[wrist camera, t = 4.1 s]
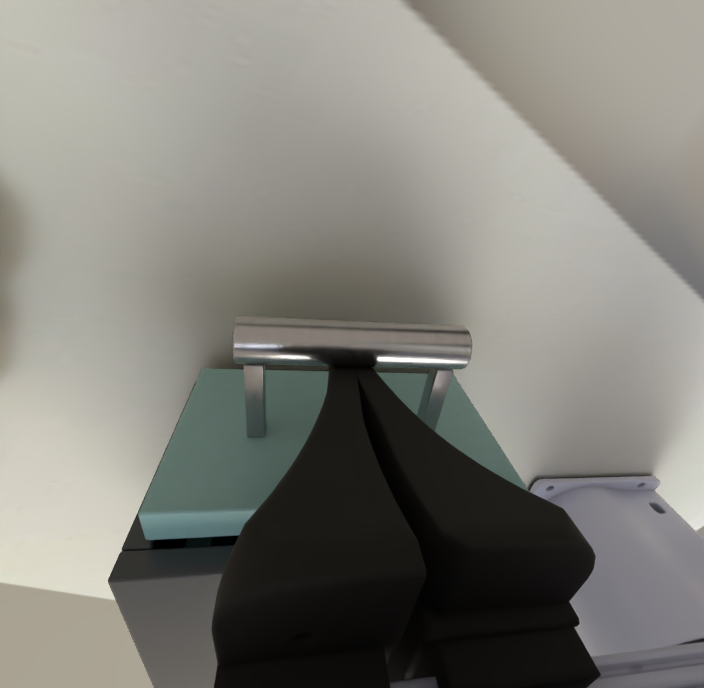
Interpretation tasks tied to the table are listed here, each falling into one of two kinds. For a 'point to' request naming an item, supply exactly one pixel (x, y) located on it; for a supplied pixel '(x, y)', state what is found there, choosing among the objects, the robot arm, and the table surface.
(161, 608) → the compartment
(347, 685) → the robot arm
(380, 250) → the table surface
